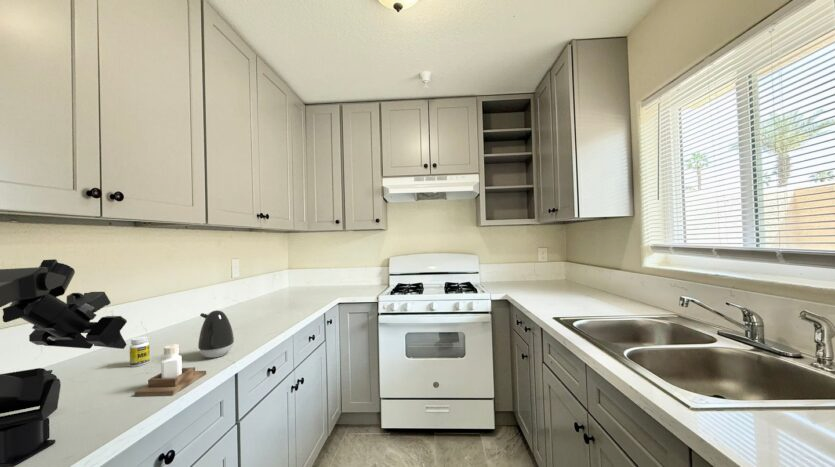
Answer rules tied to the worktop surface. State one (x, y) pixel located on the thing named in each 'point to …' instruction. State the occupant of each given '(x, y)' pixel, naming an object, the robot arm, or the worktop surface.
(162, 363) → the pepper shaker
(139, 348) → the supplement bottle
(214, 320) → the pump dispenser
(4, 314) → the robot arm
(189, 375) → the stand
